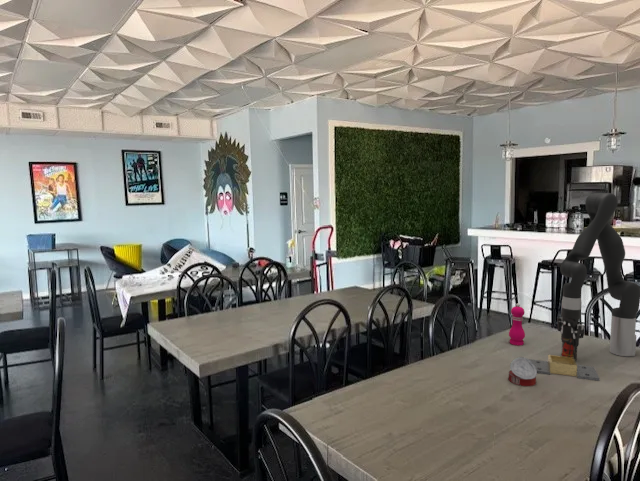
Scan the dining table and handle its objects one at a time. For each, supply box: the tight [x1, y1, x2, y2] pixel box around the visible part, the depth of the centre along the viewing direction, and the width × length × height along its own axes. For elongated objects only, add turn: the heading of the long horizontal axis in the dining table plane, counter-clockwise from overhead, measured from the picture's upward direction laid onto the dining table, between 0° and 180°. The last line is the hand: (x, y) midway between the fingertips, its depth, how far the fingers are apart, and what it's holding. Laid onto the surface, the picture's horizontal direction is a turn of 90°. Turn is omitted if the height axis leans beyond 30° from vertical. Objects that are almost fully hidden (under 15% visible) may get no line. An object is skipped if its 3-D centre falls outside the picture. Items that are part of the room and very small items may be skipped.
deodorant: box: [560, 325, 578, 362], centre depth 201 cm, size 6×6×15 cm
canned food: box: [508, 356, 538, 387], centre depth 178 cm, size 11×10×10 cm
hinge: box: [528, 354, 600, 382], centre depth 188 cm, size 25×13×4 cm, turn 68°
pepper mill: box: [508, 303, 526, 347], centre depth 221 cm, size 7×7×20 cm
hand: (569, 344), depth 201 cm, fingers closed on deodorant, 6 cm apart
